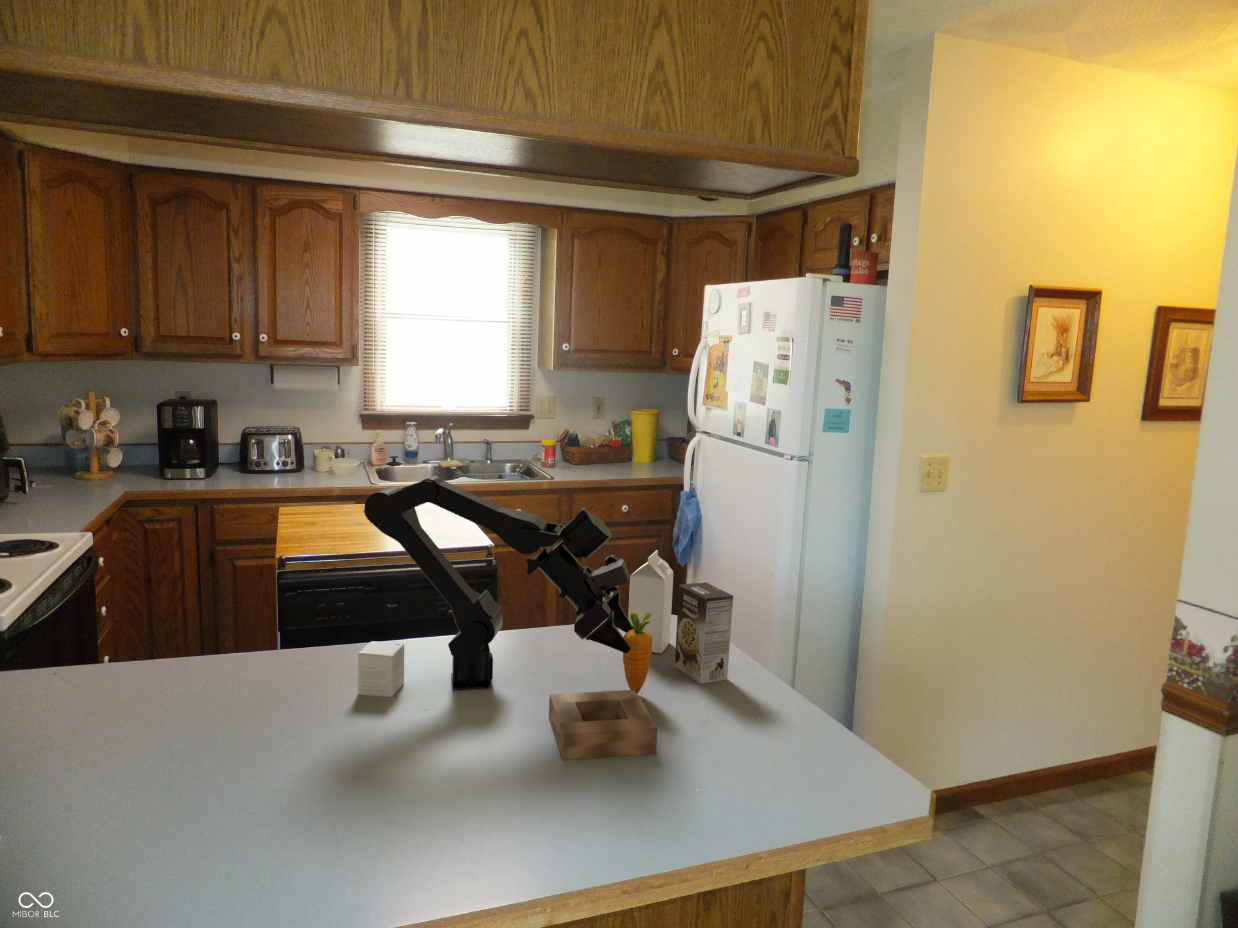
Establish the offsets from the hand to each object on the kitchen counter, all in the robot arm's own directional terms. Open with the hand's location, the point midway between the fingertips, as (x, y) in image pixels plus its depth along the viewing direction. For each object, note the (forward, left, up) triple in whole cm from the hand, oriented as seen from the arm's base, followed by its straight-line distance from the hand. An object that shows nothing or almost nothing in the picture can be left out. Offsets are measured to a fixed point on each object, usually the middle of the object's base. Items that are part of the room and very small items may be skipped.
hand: (630, 641), depth 146 cm
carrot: (+1, 0, -10) cm, 10 cm away
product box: (-41, +8, -10) cm, 43 cm away
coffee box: (+16, +8, -10) cm, 20 cm away
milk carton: (+10, +23, -10) cm, 26 cm away
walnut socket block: (-8, -14, -9) cm, 19 cm away
